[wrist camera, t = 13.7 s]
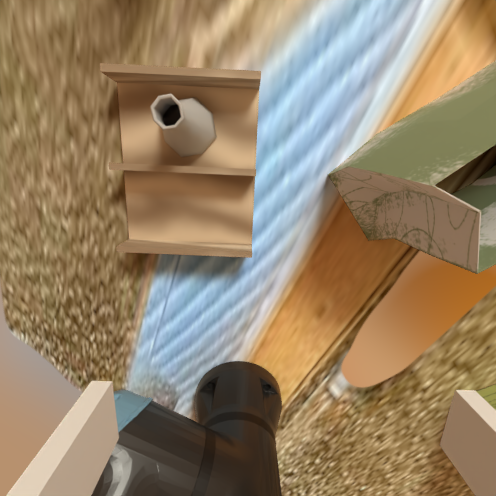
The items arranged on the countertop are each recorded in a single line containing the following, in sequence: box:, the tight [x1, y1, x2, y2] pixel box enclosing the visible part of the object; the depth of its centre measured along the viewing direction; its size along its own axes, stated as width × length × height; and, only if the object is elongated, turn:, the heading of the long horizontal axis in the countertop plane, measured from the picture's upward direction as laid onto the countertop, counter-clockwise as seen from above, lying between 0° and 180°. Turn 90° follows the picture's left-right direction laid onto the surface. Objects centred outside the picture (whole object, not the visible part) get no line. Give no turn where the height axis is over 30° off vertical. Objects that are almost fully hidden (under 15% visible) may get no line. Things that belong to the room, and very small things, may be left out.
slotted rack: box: [100, 63, 261, 258], centre depth 36 cm, size 22×18×5 cm
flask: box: [150, 94, 217, 157], centre depth 31 cm, size 7×7×10 cm
